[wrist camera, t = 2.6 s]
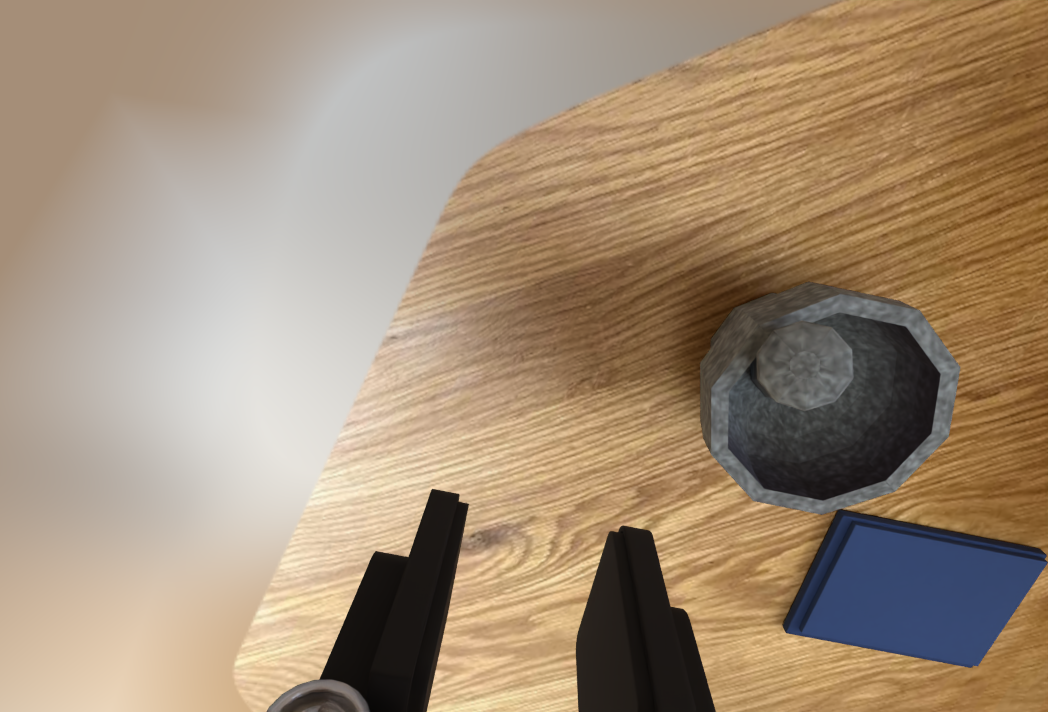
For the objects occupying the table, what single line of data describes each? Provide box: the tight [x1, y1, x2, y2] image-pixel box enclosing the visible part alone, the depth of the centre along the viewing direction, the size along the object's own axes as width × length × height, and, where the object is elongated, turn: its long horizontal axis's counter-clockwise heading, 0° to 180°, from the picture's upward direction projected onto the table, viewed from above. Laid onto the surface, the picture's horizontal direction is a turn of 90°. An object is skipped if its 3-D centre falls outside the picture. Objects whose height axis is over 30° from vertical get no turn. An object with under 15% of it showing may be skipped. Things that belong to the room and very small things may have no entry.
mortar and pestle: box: [700, 282, 960, 515], centre depth 23 cm, size 11×9×12 cm
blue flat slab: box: [783, 510, 1048, 668], centre depth 34 cm, size 12×9×1 cm
